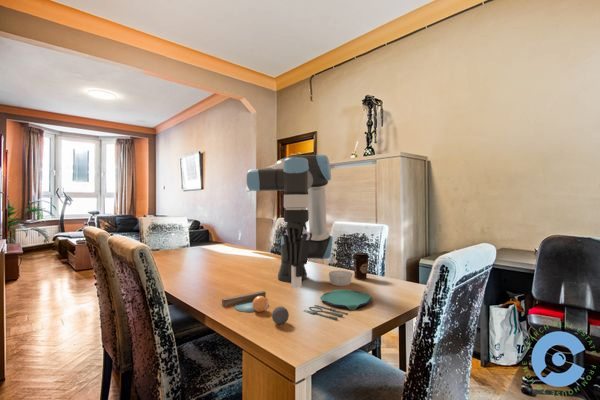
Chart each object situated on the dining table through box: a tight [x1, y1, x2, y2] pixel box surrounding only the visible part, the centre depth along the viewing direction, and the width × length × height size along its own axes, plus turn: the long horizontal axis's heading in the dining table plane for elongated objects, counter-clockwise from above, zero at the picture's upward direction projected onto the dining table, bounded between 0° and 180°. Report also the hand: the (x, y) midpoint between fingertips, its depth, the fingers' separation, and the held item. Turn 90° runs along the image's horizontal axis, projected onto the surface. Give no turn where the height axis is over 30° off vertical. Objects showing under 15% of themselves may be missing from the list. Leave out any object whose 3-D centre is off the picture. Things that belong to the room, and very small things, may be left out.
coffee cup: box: [352, 252, 370, 281], centre depth 159 cm, size 9×8×13 cm
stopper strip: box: [221, 290, 267, 308], centre depth 123 cm, size 2×18×2 cm, turn 125°
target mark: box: [234, 300, 270, 313], centre depth 118 cm, size 13×13×1 cm
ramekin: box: [328, 270, 353, 287], centre depth 149 cm, size 11×11×5 cm
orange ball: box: [253, 296, 269, 313], centre depth 112 cm, size 6×6×6 cm
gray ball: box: [271, 305, 290, 325], centre depth 101 cm, size 6×6×6 cm
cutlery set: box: [303, 288, 373, 321], centre depth 120 cm, size 20×30×2 cm, turn 140°
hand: (296, 286), depth 93 cm, fingers closed
